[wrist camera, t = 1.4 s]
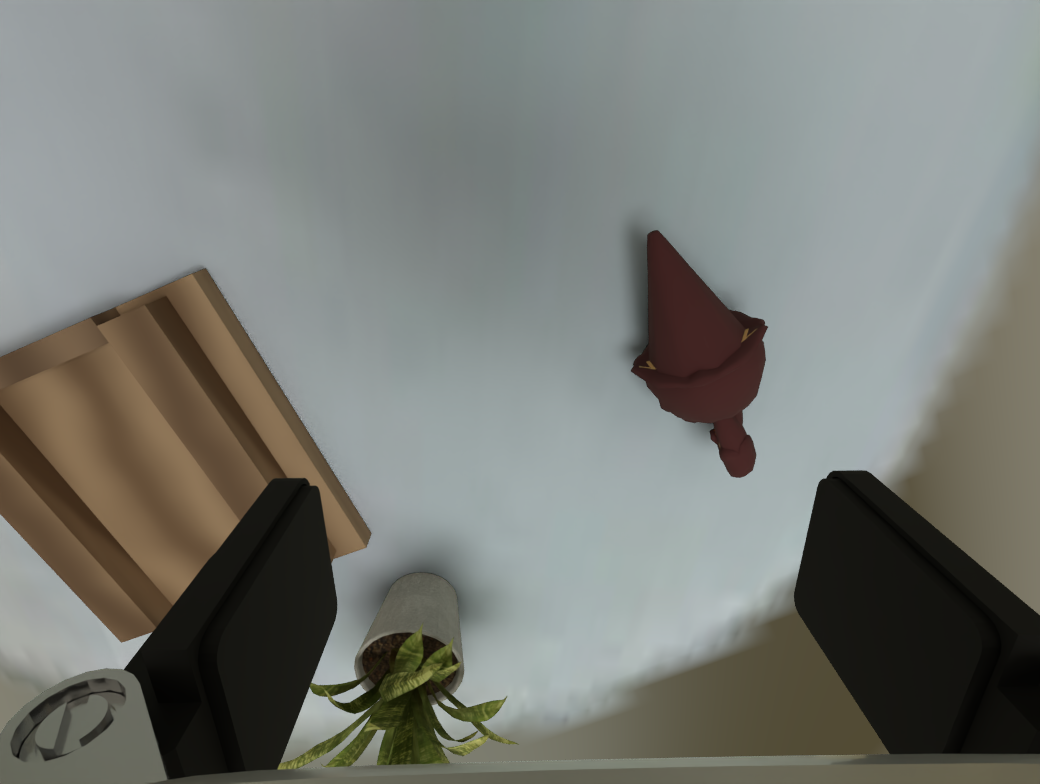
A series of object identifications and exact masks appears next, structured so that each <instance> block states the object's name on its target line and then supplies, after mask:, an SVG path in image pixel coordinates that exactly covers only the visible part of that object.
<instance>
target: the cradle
mask: <svg viewBox="0 0 1040 784" xmlns="http://www.w3.org/2000/svg"><path fill="white" fill-rule="evenodd" d="M275 478H306V479H307V480H308V481H309V483H310V486H317V487H318V488H319V491H320V496H321V502H322V508H323V514H324V521H325V527H326V533H327V540H328V546H329V552H330V559H331V563H332V561H333V559H335V558H338V557H341V556H343V555H346V554H349V553H352V552H355V551H358V550H361V549H364V548H366V547H367V544H368V542H369V539H370V536H371V532H370V531H369V529H368V527H367V526H366V524H365V523H364V521H363V519H362V518H361V516H360V515H359V513H358V511H357V510H356V508H355V507H354V505H353V503H352V502H351V500H350V499H349V497H348V495H347V494H346V492H345V491H344V489H343V487H342V486H341V484H340V483H339V481H338V479H337V478H336V476H335V475H334V473H333V471H332V470H331V468H330V467H329V465H328V463H327V462H326V460H325V459H324V457H323V455H322V454H321V452H320V451H319V449H318V447H317V446H316V444H315V443H314V441H313V439H312V438H311V436H310V435H309V433H308V431H307V430H306V428H305V427H304V425H303V423H302V422H301V420H300V419H299V417H298V415H297V414H296V412H295V411H294V409H293V407H292V406H291V404H290V403H289V401H288V399H287V398H286V396H285V395H284V393H283V391H282V390H281V388H280V387H279V385H278V383H277V382H276V380H275V379H274V377H273V375H272V374H271V372H270V371H269V369H268V367H267V366H266V364H265V363H264V361H263V359H262V358H261V356H260V355H259V353H258V351H257V350H256V348H255V347H254V345H253V343H252V342H251V340H250V339H249V337H248V335H247V334H246V332H245V331H244V329H243V327H242V326H241V324H240V323H239V321H238V319H237V318H236V316H235V315H234V313H233V311H232V310H231V308H230V307H229V305H228V303H227V302H226V300H225V299H224V297H223V295H222V294H221V292H220V291H219V289H218V287H217V286H216V284H215V283H214V281H213V279H212V278H211V276H210V275H209V273H208V271H207V270H206V268H205V269H203V270H200V271H198V272H195V273H193V274H190V275H188V276H186V277H183V278H181V279H179V280H177V281H174V282H172V283H170V284H168V285H165V286H163V287H161V288H158V289H156V290H154V291H152V292H149V293H147V294H145V295H142V296H140V297H138V298H136V299H133V300H131V301H129V302H127V303H124V304H122V305H120V306H117V307H115V308H113V309H110V310H108V311H105V312H103V313H100V314H98V315H96V316H93V317H91V318H88V319H86V320H84V321H82V322H79V323H77V324H75V325H72V326H70V327H68V328H66V329H63V330H61V331H59V332H57V333H54V334H52V335H50V336H47V337H45V338H43V339H41V340H38V341H36V342H34V343H31V344H29V345H27V346H25V347H22V348H20V349H18V350H16V351H13V352H11V353H9V354H6V355H4V356H2V357H0V514H1V515H2V516H3V517H4V518H5V520H6V521H7V522H8V523H9V524H10V525H11V526H12V527H13V528H14V529H15V530H16V531H17V532H18V533H19V534H20V535H21V537H22V538H23V539H24V540H25V541H26V542H27V543H28V544H29V545H30V546H31V547H32V548H33V549H34V550H35V551H36V552H37V553H38V555H39V556H40V557H41V558H42V559H43V560H44V561H45V562H46V563H47V564H48V565H49V566H50V567H51V568H52V569H53V570H54V572H55V573H56V574H57V575H58V576H59V577H60V578H61V579H62V580H63V581H64V582H65V583H66V584H67V585H68V586H69V587H70V589H71V590H72V591H73V592H74V593H75V594H76V595H77V596H78V597H79V598H80V599H81V600H82V601H83V602H84V603H85V604H86V606H87V607H88V608H89V609H90V610H91V611H92V612H93V613H94V614H95V615H96V616H97V617H98V618H99V619H100V620H101V621H102V623H103V624H104V625H105V626H106V627H107V628H108V629H109V630H110V631H111V632H112V633H113V634H114V635H115V636H116V637H117V638H118V639H119V641H120V642H121V643H122V642H125V641H128V640H130V639H133V638H136V637H139V636H142V635H145V634H148V633H151V632H153V631H154V630H155V628H156V627H157V626H158V625H159V623H160V622H161V621H162V619H163V618H164V617H165V615H166V614H167V613H168V612H169V610H170V609H171V608H172V606H173V605H174V604H175V602H176V601H177V600H178V599H179V597H180V596H181V595H182V593H183V592H184V591H185V590H186V588H187V587H188V586H189V584H190V583H191V582H192V580H193V579H194V578H195V577H196V575H197V574H198V573H199V571H200V570H201V569H202V567H203V566H204V565H205V564H206V562H207V561H208V560H209V558H211V557H212V556H213V555H214V554H215V553H216V552H217V550H218V549H219V548H220V546H221V545H222V544H223V542H224V541H225V540H226V539H227V537H228V536H229V535H230V533H231V532H232V531H233V529H234V528H235V527H236V525H237V524H238V523H239V522H240V520H241V519H242V518H243V516H244V515H245V514H246V512H247V511H248V510H249V509H250V507H251V506H252V505H253V503H254V502H255V501H256V499H257V498H258V497H259V495H260V494H261V493H262V492H263V490H264V489H265V488H266V486H267V485H268V484H269V482H270V481H271V480H272V479H275Z"/></svg>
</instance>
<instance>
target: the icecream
mask: <svg viewBox="0 0 1040 784" xmlns="http://www.w3.org/2000/svg"><path fill="white" fill-rule="evenodd" d="M647 263H648V330H649V343H648V345H647V346H646V348H645V350H644V351H643V353H642V354H641V355H639V356H638V357H637V358H636V359H635V361H634V364H633V365H634V366H633V368H632V369H631V372H633V373H634V374H635V375H637V376H639V377H640V378H642V379H643V380H645V381H646V384H647V387H648V388H649V389H650V390H651V391H652V393H653V394H654V395H655V396H656V397H657V398H658V399H659V402H660V406H661V408H662V409H663V410H665V411H667V412H671V413H672V414H674V415H675V416H677V417H679V418H682V419H683V420H685V421H688V422H693V423H696V422H701V423H713V424H714V429H712V430H710V436H711V440H712V441H713V442H715V443H716V444H717V445H718V449H719V455H720V458H721V460H722V461H723V462H724V465H725V467H726V469H727V471H728V472H729V474H730V475H731V476H732V477H738V478H740V477H744V476H746V475H747V474H748V473H750V472H751V471H752V470H753V467H754V464H755V459H756V452H755V448H754V444H753V441H752V439H751V437H750V435H747V434H746V432H745V429H744V427H743V426H742V424H743V413H742V410H744V409H745V408H746V407H747V406H749V404H750V403H751V402H752V401H753V400H754V398H755V397H756V396H757V393H758V389H759V385H760V382H761V378H762V373H763V369H764V365H765V361H766V357H765V348H764V342H763V341H762V339H763V337H764V334H765V332H766V330H767V328H768V326H765V322H764V320H762V319H758V318H752V317H750V316H747V315H745V314H743V313H741V312H738V311H732V310H728V309H727V307H726V306H725V305H724V304H723V303H722V302H721V301H720V300H719V299H718V297H717V296H716V295H715V294H714V293H713V292H712V291H711V290H710V288H709V287H708V286H707V285H706V284H705V283H704V282H703V281H702V279H701V278H700V277H699V276H698V275H697V274H696V273H695V272H694V270H693V269H692V268H691V267H690V266H689V265H688V264H687V263H686V261H685V260H684V259H683V258H682V257H681V256H680V254H679V253H678V252H677V251H676V250H675V249H674V247H673V246H672V245H671V244H670V243H669V242H668V241H667V239H666V238H665V237H664V236H663V235H662V234H661V233H660V232H659V231H658V230H655V231H652V232H650V233H649V234H648V235H647Z"/></svg>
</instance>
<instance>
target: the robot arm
mask: <svg viewBox="0 0 1040 784" xmlns="http://www.w3.org/2000/svg"><path fill="white" fill-rule="evenodd" d="M794 601H795V606H796V609H797V611H798V613H799V615H800V617H801V618H802V620H803V621H804V623H805V624H806V626H807V627H808V629H809V630H810V632H811V634H812V635H813V637H814V638H815V640H816V641H817V643H818V644H819V646H820V647H821V649H822V650H823V652H824V653H825V655H826V656H827V658H828V660H829V661H830V663H831V664H832V666H833V667H834V669H835V670H836V672H837V673H838V675H839V676H840V678H841V680H842V681H843V683H844V684H845V686H846V687H847V689H848V690H849V692H850V693H851V695H852V696H853V698H854V699H855V701H856V703H857V704H858V706H859V707H860V709H861V710H862V712H863V713H864V715H865V716H866V718H867V719H868V721H869V722H870V724H871V726H872V727H873V729H874V730H875V732H876V733H877V735H878V736H879V738H880V739H881V741H882V743H883V744H884V745H885V747H886V749H887V750H888V752H889V753H890V754H885V755H883V754H881V755H815V756H750V757H701V758H700V757H698V758H649V759H606V760H604V759H603V760H557V761H521V762H520V761H518V762H485V763H484V762H483V763H482V762H481V763H444V764H407V765H370V766H347V767H325V768H303V769H280V770H278V767H279V764H280V762H281V759H282V757H283V754H284V752H285V749H286V746H287V744H288V741H289V739H290V736H291V733H292V731H293V728H294V726H295V723H296V720H297V718H298V715H299V713H300V710H301V708H302V705H303V702H304V700H305V697H306V695H307V692H308V689H309V687H310V684H311V682H312V679H313V676H314V674H315V671H316V669H317V666H318V664H319V661H320V658H321V656H322V653H323V651H324V648H325V645H326V643H327V640H328V638H329V635H330V632H331V630H332V627H333V625H334V622H335V619H336V614H337V597H336V590H335V584H334V578H333V571H332V565H331V559H330V552H329V546H328V540H327V533H326V527H325V521H324V514H323V508H322V502H321V496H320V491H319V488H318V487H317V486H310V483H309V481H308V480H307V479H306V478H275V479H272V480H271V481H270V482H269V484H268V485H267V486H266V488H265V489H264V490H263V492H262V493H261V494H260V495H259V497H258V498H257V499H256V501H255V502H254V503H253V505H252V506H251V507H250V509H249V510H248V511H247V512H246V514H245V515H244V516H243V518H242V519H241V520H240V522H239V523H238V524H237V525H236V527H235V528H234V529H233V531H232V532H231V533H230V535H229V536H228V537H227V539H226V540H225V541H224V542H223V544H222V545H221V546H220V548H219V549H218V550H217V552H216V553H215V554H214V555H213V556H212V557H211V558H209V560H208V561H207V562H206V564H205V565H204V566H203V567H202V569H201V570H200V571H199V573H198V574H197V575H196V577H195V578H194V579H193V580H192V582H191V583H190V584H189V586H188V587H187V588H186V590H185V591H184V592H183V593H182V595H181V596H180V597H179V599H178V600H177V601H176V602H175V604H174V605H173V606H172V608H171V609H170V610H169V612H168V613H167V614H166V615H165V617H164V618H163V619H162V621H161V622H160V623H159V625H158V626H157V627H156V628H155V630H154V631H153V632H152V634H151V635H150V636H149V638H148V639H147V640H146V641H145V643H144V644H143V645H142V647H141V648H140V649H139V650H138V652H137V653H136V654H135V656H134V657H133V658H132V660H131V661H130V662H129V663H128V665H127V666H126V667H125V669H124V670H123V669H108V668H106V669H100V670H95V671H89V672H85V673H82V674H80V675H77V676H74V677H71V678H69V679H66V680H64V681H62V682H60V683H58V684H57V685H55V686H53V687H51V688H49V689H47V690H45V691H44V692H42V693H41V694H40V695H38V696H37V697H35V698H34V699H33V700H31V701H30V702H29V703H27V704H26V705H25V706H23V708H21V709H20V711H18V712H17V714H15V715H14V717H12V718H11V720H9V721H8V723H7V724H6V726H5V727H4V729H3V730H2V732H1V733H0V784H1040V615H1039V614H1037V613H1036V612H1035V611H1034V610H1033V609H1031V608H1030V607H1029V606H1028V605H1027V604H1025V603H1024V602H1023V601H1022V600H1021V599H1020V598H1018V597H1017V596H1016V595H1015V594H1014V593H1012V592H1011V591H1010V590H1009V589H1008V588H1006V587H1005V586H1004V585H1003V584H1002V583H1000V582H999V581H998V580H997V579H996V578H995V577H993V576H992V575H991V574H990V573H989V572H987V571H986V570H985V569H984V568H983V567H981V566H980V565H979V564H978V563H977V562H976V561H974V560H973V559H972V558H971V557H970V556H968V555H967V554H966V553H965V552H964V551H962V550H961V549H960V548H959V547H958V546H957V545H955V544H954V543H952V541H951V540H949V539H948V538H947V537H946V536H945V535H943V534H942V533H941V532H940V531H939V530H937V529H936V528H935V527H934V526H933V525H932V524H930V523H929V522H928V521H927V520H926V519H924V518H923V517H922V516H921V515H920V514H918V513H917V512H916V511H915V510H913V509H912V508H911V507H910V506H909V505H908V504H907V503H905V502H904V501H903V500H902V499H901V498H899V497H898V496H897V495H896V494H895V493H893V492H892V491H891V490H890V489H889V488H887V487H886V486H885V485H884V484H883V483H882V482H880V481H879V480H878V479H877V478H876V477H874V476H873V475H872V474H871V473H869V472H867V471H862V470H860V471H832V472H830V473H829V475H828V476H827V478H826V479H822V480H821V481H820V482H819V484H818V487H817V492H816V496H815V501H814V505H813V510H812V514H811V519H810V524H809V528H808V533H807V537H806V542H805V546H804V551H803V555H802V560H801V564H800V569H799V573H798V578H797V582H796V587H795V592H794Z"/></svg>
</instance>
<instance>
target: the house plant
mask: <svg viewBox="0 0 1040 784" xmlns="http://www.w3.org/2000/svg"><path fill="white" fill-rule="evenodd" d="M354 669H355V673H356V677H357V680H355V681H352V682H348V683H343V684H337V685H316V684H313V683H311V684H310V688H311V690H312V692H313V693H314V694H316V695H319V696H324V697H328V699H329V700H330V702H331V703H332V704H333V705H335V706H336V707H338V708H340V709H342V710H344V711H346V712H349V713H353V714H356V713H359V712H362V711H364V710H366V709H368V708H370V707H371V706H372V705H373V706H372V707H371V708H370V709H369V710H367V711H366V712H365V713H364V714H363V715H362V716H361V717H360V718H359V719H358V720H356V721H355V722H354V723H353V724H351V725H350V726H349V727H348V728H346V729H345V730H344V731H342V732H340V733H339V734H337V735H335V736H334V737H332V738H330V739H328V740H326V741H324V742H322V743H320V744H318V745H316V746H315V747H313V748H312V749H310V750H309V751H307V752H306V753H304V754H303V755H301V756H299V757H297V758H296V759H294V760H291V761H288V762H284V763H280V764H279V767H278V770H280V769H298V768H300V767H302V766H304V765H305V764H308V763H310V762H312V761H313V760H315V759H317V758H319V757H321V756H322V755H324V754H326V753H328V752H329V751H331V750H332V749H333V748H335V747H336V746H337V745H339V744H340V743H341V742H342V741H343V740H344V739H345V738H346V737H347V736H348V735H349V734H350V733H351V732H352V731H353V730H354V729H355V728H356V727H358V726H359V725H360V724H361V723H362V722H363V721H364V720H365V719H367V718H368V717H369V716H370V715H371V716H370V718H369V720H368V721H367V723H366V724H365V726H364V727H363V728H362V730H361V731H360V733H359V734H358V736H357V737H356V738H355V739H354V740H353V741H352V742H351V743H350V744H349V745H348V746H347V747H346V748H345V749H343V750H342V751H341V752H340V753H339V754H338V755H337V756H336V757H334V758H333V759H332V760H331V761H330V762H329V763H328V764H327V765H326V766H323V765H322V766H323V767H347V766H351V765H352V764H353V763H354V762H355V761H356V760H357V759H358V758H359V757H360V755H361V754H362V753H363V751H364V750H365V748H366V747H367V746H368V744H369V743H370V741H371V740H372V738H373V736H374V735H375V733H376V731H377V730H386V731H385V734H384V737H383V740H382V743H381V747H380V751H379V756H378V761H377V765H407V764H444V763H449V761H448V759H447V757H446V756H445V754H444V752H443V750H442V748H441V747H443V748H445V747H444V746H443V745H442V744H441V743H440V742H439V741H438V739H437V736H436V734H435V731H434V729H435V730H436V731H437V733H438V734H439V735H440V736H442V737H443V738H445V739H447V740H452V741H458V742H465V741H467V740H469V739H471V738H472V737H474V736H475V734H476V733H477V732H478V731H477V732H475V733H473V734H471V735H469V736H467V737H465V738H463V739H460V740H454V739H452V738H451V737H450V736H449V735H448V734H447V733H446V731H445V730H444V729H443V727H442V726H441V724H440V723H439V721H438V719H437V717H436V715H435V712H434V710H433V708H432V705H435V704H437V703H438V705H439V706H440V707H441V708H442V709H443V710H445V711H446V712H447V713H448V714H450V715H451V716H452V717H454V718H456V719H459V720H461V721H467V722H471V723H472V724H473V725H474V726H475V727H476V728H477V729H478V730H479V731H480V732H481V733H482V734H483V735H484V736H483V737H481V738H478V739H476V740H473V741H470V742H468V743H466V744H463V745H460V746H456V747H449V748H446V749H448V750H449V751H450V752H452V753H453V754H457V755H461V756H464V755H467V754H469V753H470V752H471V751H472V750H474V749H476V748H477V747H479V746H481V745H482V744H484V743H485V742H486V740H487V739H488V738H490V739H492V740H495V741H498V742H502V743H506V744H517V743H515V742H512V741H509V740H507V739H504V738H502V737H499V736H497V735H496V734H494V733H493V732H491V731H490V730H488V729H487V728H486V727H485V726H484V725H483V724H482V723H481V722H482V721H487V720H489V719H490V718H492V717H493V716H494V715H495V714H496V713H497V712H498V711H499V710H500V708H501V707H502V705H503V703H504V702H505V700H506V698H507V697H506V698H505V699H504V700H496V701H490V702H486V703H483V704H479V705H475V706H472V707H466V706H464V705H463V704H462V703H461V702H459V701H458V700H457V699H456V698H455V697H454V696H453V695H452V694H453V693H454V692H456V690H457V689H458V687H459V686H460V684H461V682H462V679H463V675H464V664H463V654H462V643H461V633H460V623H459V613H458V603H457V595H456V592H455V590H454V588H453V587H452V586H451V585H450V584H449V582H447V581H446V580H444V579H443V578H441V577H439V576H437V575H434V574H430V573H412V574H409V575H405V576H403V577H401V578H400V579H398V580H397V581H396V582H395V583H394V584H393V585H392V587H391V588H390V590H389V592H388V594H387V596H386V598H385V600H384V602H383V604H382V606H381V608H380V610H379V612H378V614H377V616H376V618H375V620H374V622H373V624H372V626H371V628H370V630H369V632H368V634H367V636H366V638H365V640H364V642H363V644H362V646H361V648H360V650H359V652H358V654H357V656H356V658H355V666H354ZM359 684H361V686H362V688H363V689H364V690H365V691H367V692H366V693H364V694H363V695H361V696H359V697H358V698H356V699H355V700H353V701H351V702H350V703H340V702H337V701H335V700H333V698H332V697H331V696H334V695H338V694H341V693H343V692H346V691H348V690H350V689H353V688H355V687H356V686H357V685H359ZM507 696H508V695H507ZM446 699H448V700H449V701H450V702H451V703H453V704H454V705H455V706H456V707H457V708H458V709H454V708H451V707H448V706H445V705H444V704H443V703H441V701H443V700H446ZM378 700H379V701H378ZM377 701H378V702H377ZM433 727H434V728H433Z"/></svg>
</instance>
